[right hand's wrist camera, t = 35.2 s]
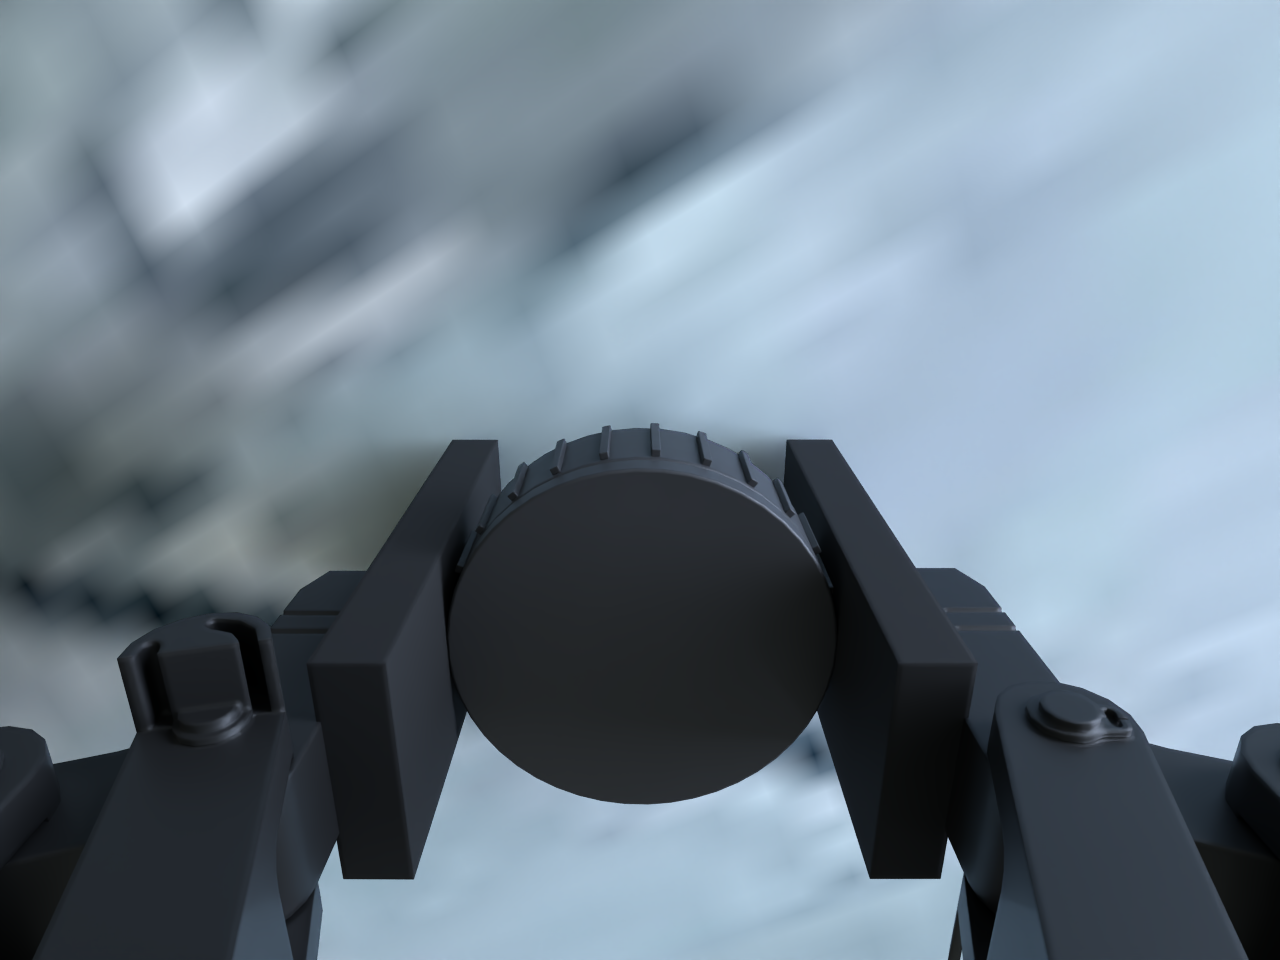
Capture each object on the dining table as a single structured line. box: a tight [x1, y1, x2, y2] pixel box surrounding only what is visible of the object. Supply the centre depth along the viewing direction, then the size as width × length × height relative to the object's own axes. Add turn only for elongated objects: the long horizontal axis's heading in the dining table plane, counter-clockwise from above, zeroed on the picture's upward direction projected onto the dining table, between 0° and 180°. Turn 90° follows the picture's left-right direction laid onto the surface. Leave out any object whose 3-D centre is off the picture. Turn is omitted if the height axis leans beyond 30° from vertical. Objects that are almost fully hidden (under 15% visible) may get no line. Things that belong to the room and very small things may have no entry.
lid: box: [447, 423, 837, 804], centre depth 11 cm, size 5×5×2 cm
